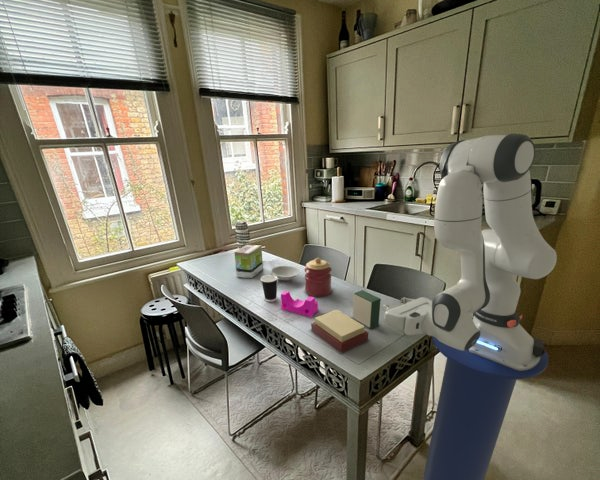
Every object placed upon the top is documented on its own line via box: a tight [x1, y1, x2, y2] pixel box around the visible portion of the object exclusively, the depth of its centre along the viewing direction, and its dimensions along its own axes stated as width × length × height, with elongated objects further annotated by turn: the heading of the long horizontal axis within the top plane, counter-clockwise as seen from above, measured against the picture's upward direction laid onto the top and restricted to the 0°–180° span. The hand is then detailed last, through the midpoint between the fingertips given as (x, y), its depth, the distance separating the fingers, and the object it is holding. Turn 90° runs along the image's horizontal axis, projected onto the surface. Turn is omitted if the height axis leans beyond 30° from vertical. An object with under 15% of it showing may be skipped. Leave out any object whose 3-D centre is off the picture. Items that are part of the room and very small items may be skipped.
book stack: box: [310, 309, 369, 354], centre depth 119 cm, size 18×13×6 cm
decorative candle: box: [234, 220, 251, 250], centre depth 197 cm, size 9×9×25 cm
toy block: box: [280, 290, 319, 318], centre depth 139 cm, size 15×6×8 cm, turn 59°
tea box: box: [234, 244, 264, 279], centre depth 179 cm, size 15×10×15 cm, turn 162°
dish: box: [270, 265, 301, 281], centre depth 171 cm, size 18×14×5 cm
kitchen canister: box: [304, 257, 332, 298], centre depth 153 cm, size 13×13×18 cm
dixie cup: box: [260, 274, 279, 303], centre depth 148 cm, size 8×8×11 cm
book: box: [352, 289, 382, 330], centre depth 126 cm, size 10×5×12 cm, turn 34°
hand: (393, 303), depth 113 cm, fingers open, 8 cm apart
